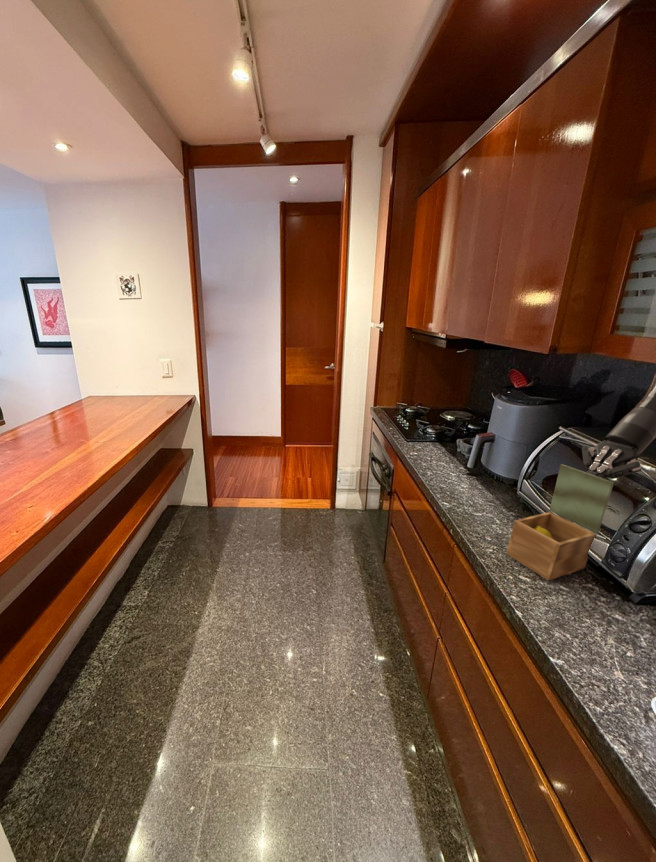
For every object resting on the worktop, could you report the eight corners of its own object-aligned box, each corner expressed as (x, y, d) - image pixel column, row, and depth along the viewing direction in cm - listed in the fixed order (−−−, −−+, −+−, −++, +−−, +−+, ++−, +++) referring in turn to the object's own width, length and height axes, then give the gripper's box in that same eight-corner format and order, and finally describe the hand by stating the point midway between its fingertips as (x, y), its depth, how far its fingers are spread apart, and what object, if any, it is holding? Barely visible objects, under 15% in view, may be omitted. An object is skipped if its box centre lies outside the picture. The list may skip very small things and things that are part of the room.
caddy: (548, 581, 92) (560, 544, 88) (505, 554, 102) (514, 520, 98) (584, 569, 96) (597, 534, 92) (539, 544, 106) (549, 511, 102)
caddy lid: (612, 482, 86) (614, 482, 87) (560, 464, 96) (562, 463, 97) (596, 533, 92) (598, 532, 92) (549, 510, 102) (551, 510, 102)
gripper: (672, 449, 88) (619, 505, 89) (608, 433, 100) (562, 483, 101) (666, 429, 85) (611, 488, 86) (601, 415, 96) (553, 467, 97)
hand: (585, 485), depth 93 cm, fingers closed
